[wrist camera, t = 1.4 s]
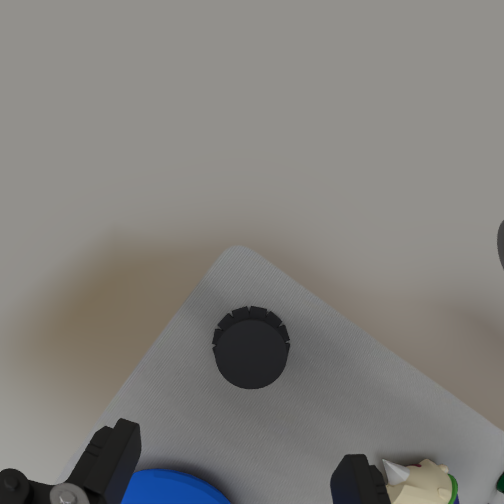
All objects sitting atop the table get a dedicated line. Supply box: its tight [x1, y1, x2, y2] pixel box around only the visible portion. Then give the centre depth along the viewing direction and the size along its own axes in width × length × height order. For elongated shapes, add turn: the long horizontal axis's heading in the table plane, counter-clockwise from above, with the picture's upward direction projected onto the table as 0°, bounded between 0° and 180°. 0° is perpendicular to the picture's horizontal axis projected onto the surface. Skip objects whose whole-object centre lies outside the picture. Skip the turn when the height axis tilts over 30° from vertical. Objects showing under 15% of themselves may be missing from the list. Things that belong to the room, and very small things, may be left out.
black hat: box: [212, 306, 290, 389], centre depth 27 cm, size 8×8×9 cm
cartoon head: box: [382, 459, 459, 504], centre depth 23 cm, size 9×10×20 cm
